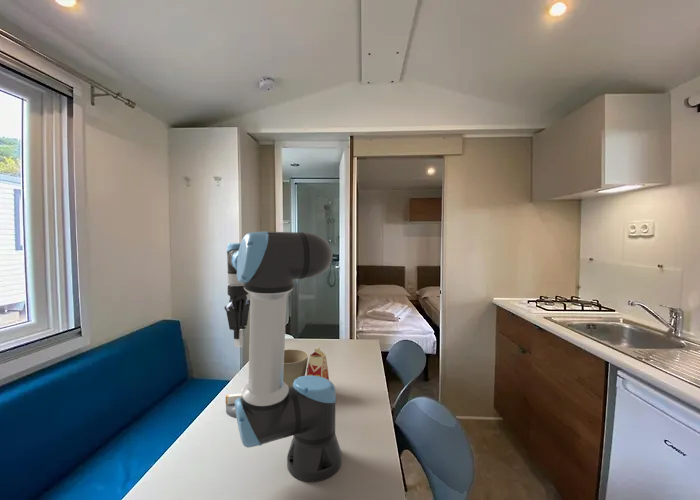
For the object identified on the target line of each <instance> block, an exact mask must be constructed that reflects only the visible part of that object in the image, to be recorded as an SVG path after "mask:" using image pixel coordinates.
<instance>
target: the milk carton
mask: <svg viewBox="0 0 700 500" xmlns="http://www.w3.org/2000/svg"><path fill="white" fill-rule="evenodd" d="M308 375H312V376H319V377H323V378H326V379H328V380H329V381H330V375H329V367H328V359H327V356H326V354H325V353H324V352H323V351H322V350H321V349H320V346H317V348H314V352H313V353H311V354H310V355H309V357H308V362H307V367H306V376H308Z"/></svg>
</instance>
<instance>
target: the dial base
mask: <svg viewBox="0 0 700 500" xmlns="http://www.w3.org/2000/svg"><path fill="white" fill-rule="evenodd" d="M225 413H226V414H227V415H228V416H229V417H231V418H235V419H237V417H236V411H235V404H228V405H227V404H226V403H225Z"/></svg>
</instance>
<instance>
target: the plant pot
mask: <svg viewBox="0 0 700 500" xmlns="http://www.w3.org/2000/svg"><path fill="white" fill-rule="evenodd" d="M308 362H309V353H308V352H307V351H305V350H302V349H298V348H297V349H296V348H295V349H294V348H291V349H290V348H289V349H284V374H283V381H284V382H285V383H286V384H287V385H288V388H290V387H293V383H294V380H295V379H297V378H298V377H301V376H306V373H307V367H308Z"/></svg>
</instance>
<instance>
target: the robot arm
mask: <svg viewBox="0 0 700 500" xmlns="http://www.w3.org/2000/svg"><path fill="white" fill-rule="evenodd" d="M226 247H227V249H226V254H227V255H226V256H227V258H226V259H227V260H226V261H227V284H228V285H227V295H228V296H229V300H228V304H227V305H224V307H223V308H224V311H226V317H227V322H228V328H229V330H231V331H233V340H234V345H233V346H234V348H243V347H244V330H245V329H246V328H247V327H246V326H247V325H248V321H249V343H248V344H249V345H248V346H249V347H248V383H247V384H246V385H245V386H244V387H243V388H242V389H243V391H242V398H238V399H236V400H235V411H236V417H237V418H236V422H237V427H238V432H239V437H240V441H241V444H242V446H244V447H246V448H252V447H253V448H254V447H257V446H259V447H260V446H263V445H265V444H269V443H272V442H275V441H278V440H281V439H282V440H283V439H286V438H289V437H291V436H293V437H292V439H291V440H292V441H291V442H290V446H289V448H288V452H287V457H286V465H287V471H289V473H290V475H291V476H293V477H294V478H295V479H298V480H301V481H303V482H311V483H313V482H319V481H324V480H327V479H329V478H331V477H332V476H333V475H335V474H336V473H337V472H338V471H339V469H340V468H341V464H342V450H341V447H340V444H339V440H338V437H337V435H336V409H337V408H336V405H337V403H336V402H337V398H336V387H335V385H334V383H333V382H332V381H331V380H330V379H329V380H328V379H326V378H323V377H319V376H312V375H308V376H307V375H305V376H301V377H298V378H297V379H295V380H294V383H293V387H290V388H288V385H287V384H286V383H285V382H284V381H283V374H284V350H286V349H285V347H286V345H285V344H286V319H287V316H286V315H287V298H288V297H287V295H288V294H290V293H291V292H292V291H293V289H294V283H295V282H294V281H296V280H306V279H311V278H315V277H318V276H320V275H322V274H323V273H325V272H326V271H327V270H329V267H330V266H331V264H332V261H333V251H332V250H333V249H332V247H331V246H330V243H328V241H327V240H325V239H324V238H323V237H322V236H320V235H317V234H315V233H312V232H305V231H303V232H299V231H298V232H297V231H295V232H294V231H293V232H292V231H266V230H264V231H253V232H248V233H246V234H245V235H244V236H243V238H242V240H241V242H230V243H228V244H227V246H226ZM248 295H250V299H248Z"/></svg>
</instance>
